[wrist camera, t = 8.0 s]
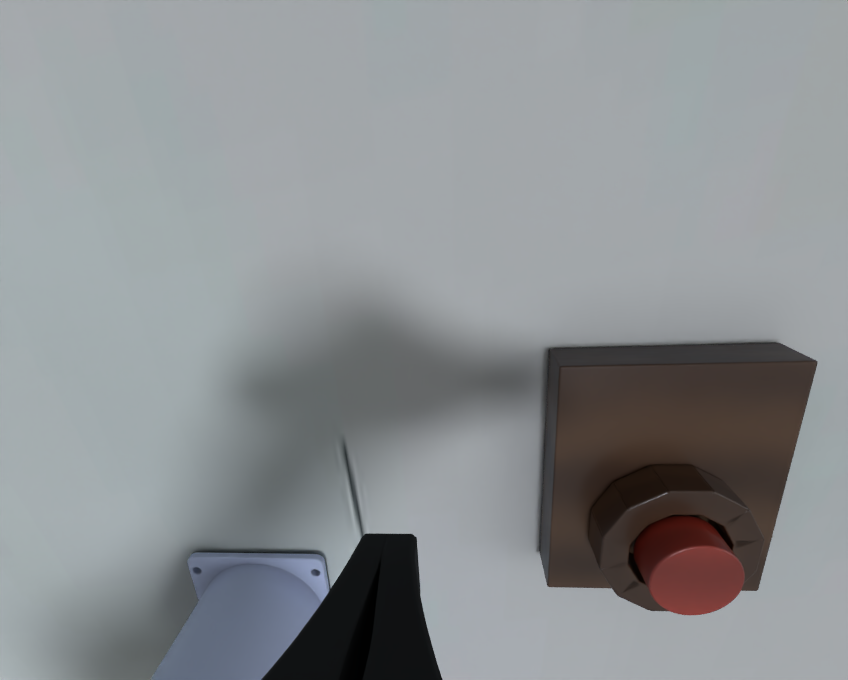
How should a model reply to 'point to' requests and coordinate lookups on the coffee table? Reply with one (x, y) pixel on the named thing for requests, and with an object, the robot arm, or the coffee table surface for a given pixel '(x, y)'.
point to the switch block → (665, 453)
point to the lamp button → (688, 565)
